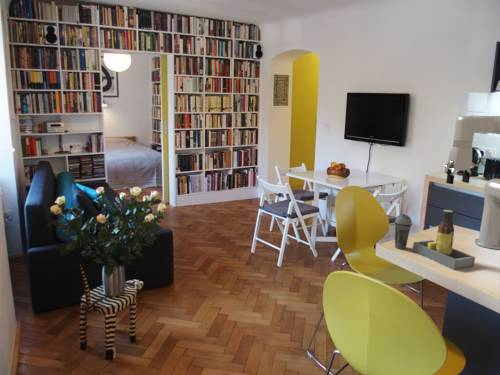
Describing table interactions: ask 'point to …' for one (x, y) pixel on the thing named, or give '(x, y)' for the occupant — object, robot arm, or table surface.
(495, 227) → the robot arm
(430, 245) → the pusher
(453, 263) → the grey tray
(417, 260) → the table surface
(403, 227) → the beverage cup
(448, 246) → the sauce bottle
